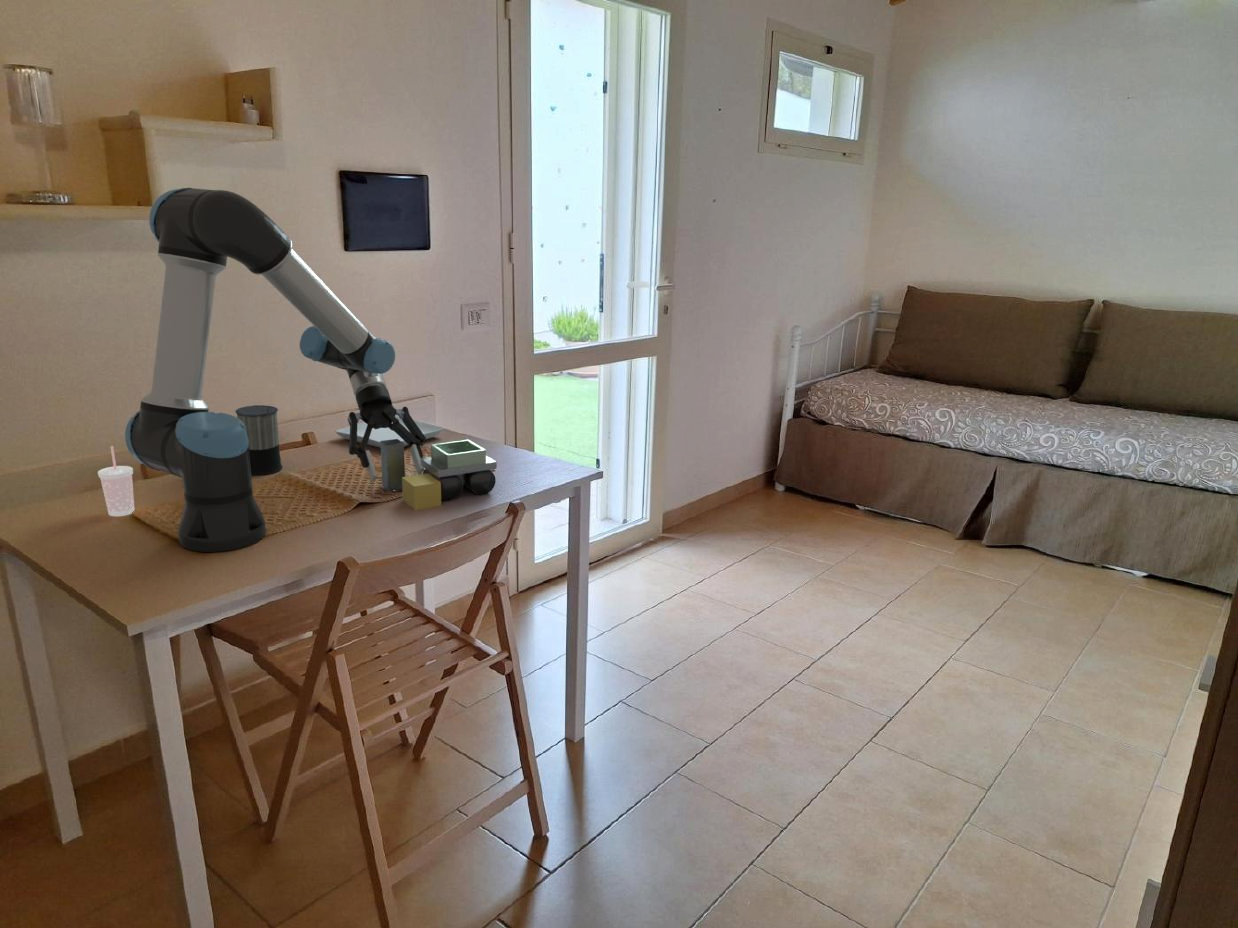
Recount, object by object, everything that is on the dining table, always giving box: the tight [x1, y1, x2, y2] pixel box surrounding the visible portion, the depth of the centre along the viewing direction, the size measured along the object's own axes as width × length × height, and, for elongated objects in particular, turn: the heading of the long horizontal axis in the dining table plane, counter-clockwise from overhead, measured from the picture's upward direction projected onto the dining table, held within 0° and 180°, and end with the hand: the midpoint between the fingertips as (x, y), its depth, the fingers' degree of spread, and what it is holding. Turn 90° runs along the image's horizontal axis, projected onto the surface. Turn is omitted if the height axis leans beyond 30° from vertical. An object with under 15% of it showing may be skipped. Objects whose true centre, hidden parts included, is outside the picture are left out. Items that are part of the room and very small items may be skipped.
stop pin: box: [380, 439, 406, 492], centre depth 187 cm, size 4×4×11 cm
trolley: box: [420, 439, 498, 502], centre depth 187 cm, size 14×10×11 cm
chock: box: [401, 473, 442, 511], centre depth 180 cm, size 6×7×6 cm
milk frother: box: [234, 404, 283, 476], centre depth 193 cm, size 14×16×15 cm
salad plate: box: [335, 415, 445, 449], centre depth 226 cm, size 21×21×3 cm
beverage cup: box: [97, 445, 135, 517], centre depth 166 cm, size 6×6×14 cm
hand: (397, 475), depth 185 cm, fingers open, 10 cm apart
